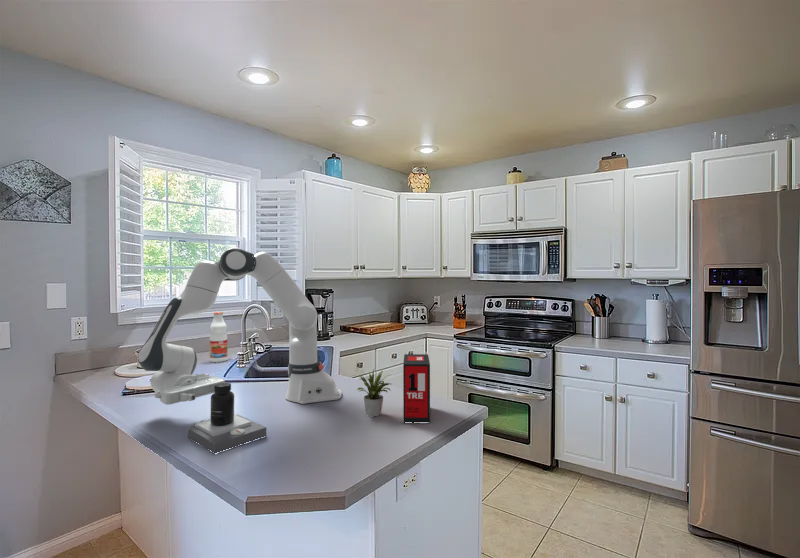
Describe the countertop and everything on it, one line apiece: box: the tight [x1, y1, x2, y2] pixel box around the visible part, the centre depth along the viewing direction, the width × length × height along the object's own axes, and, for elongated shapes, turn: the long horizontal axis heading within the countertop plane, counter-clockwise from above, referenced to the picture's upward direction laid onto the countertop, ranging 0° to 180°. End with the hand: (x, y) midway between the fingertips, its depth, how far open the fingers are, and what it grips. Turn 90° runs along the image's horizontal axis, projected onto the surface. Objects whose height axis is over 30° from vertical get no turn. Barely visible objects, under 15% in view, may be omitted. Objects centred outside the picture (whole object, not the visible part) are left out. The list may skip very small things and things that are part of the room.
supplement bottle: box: [209, 382, 235, 426], centre depth 128 cm, size 7×7×12 cm
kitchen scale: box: [187, 413, 267, 454], centre depth 126 cm, size 16×18×4 cm
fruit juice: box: [209, 311, 229, 363], centre depth 236 cm, size 9×9×28 cm
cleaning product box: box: [402, 353, 431, 424], centre depth 146 cm, size 16×9×20 cm, turn 178°
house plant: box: [351, 369, 392, 417], centre depth 145 cm, size 14×14×16 cm
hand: (207, 394), depth 132 cm, fingers open, 8 cm apart
